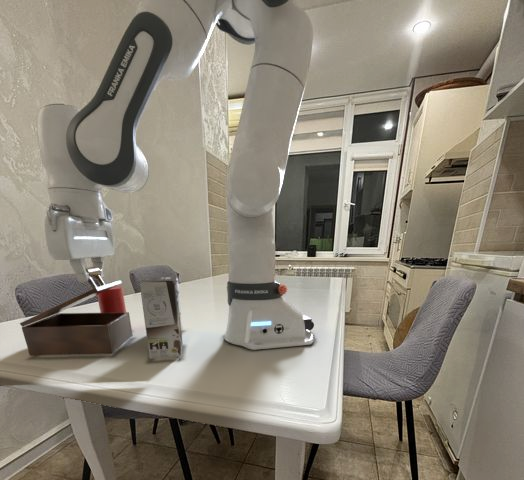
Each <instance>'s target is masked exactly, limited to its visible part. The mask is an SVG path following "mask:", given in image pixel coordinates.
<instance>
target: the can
mask: <svg viewBox="0 0 524 480" xmlns="http://www.w3.org/2000/svg"><path fill="white" fill-rule="evenodd" d="M96 296H97V301H98V307H99V311H100V312H99V313H113V312H127V307H126V301H125V296H124V291H123V286H119V285H117V286H115V287H113V288H111V289H109V290H106V291H104V292H102V293H100V294H98V295H96Z"/></svg>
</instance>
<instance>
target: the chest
mask: <svg viewBox="0 0 524 480" xmlns="http://www.w3.org/2000/svg"><path fill="white" fill-rule="evenodd" d="M21 331H22V334H23V337H24V340H25V341H24V342H25V344H26V348H27V351H28V354H29V356H68V355H69V356H70V355H71V356H73V355H107V354H108V355H109V354H114V353H115V352H116V351H117V350H118V349H119V348H121V347H122V346H123V345H124V344H126V342H128V340H130V339H131V338H132V337H133V329H132V324H131V317H130V312H128V311H126V312H113V313H101V312H60V313H57V314H54V315H52V316H49V317H47V318H44V319H42V320H39V321H36V322H34V323H31V324H29V325H26V326H23V327H22V326H21Z"/></svg>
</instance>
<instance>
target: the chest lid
mask: <svg viewBox="0 0 524 480" xmlns="http://www.w3.org/2000/svg"><path fill="white" fill-rule="evenodd" d="M85 269H86V272H87V273H89V278H90V281H89V282H88V284H89V285H90V287H91V288H92V289H90V290H87V291H86V292H85V291H84V292H83V293H81V294H79V295H77V296H74V297H72V298H70V299H68V300H66V301H63V302H62V303H60V304H57V305H56V306H53V307H51V308H50V309H47V310H45V311H43V312H41V313H39V314H37V315H34V316H32V317H30V318H28V319H26V320H24V321H22V322H20V323H19V325H20V326H21V328H22V327H24V326H27V325H29V324H32V323H35V322H37V321H40V320H42V319H45V318H47V317H50V316H53V315H55V314H58V313H63V311H66V310H68V309H71V308H72V307H74V306H77V305H79V304H81V303H83V302H85V301H87V300H89V299H92V298H94V297H96V296H97V295H98V294H100V293H102V292H104V291H106V290H109V289H111V288H113V287H115V286H119V285H121V284H123V282H122V280H121V279H119V280H115V281H113V282H109V283H105V281H104V280H103V278H101V277H100V273H101V271H100V269H99V268H98V267H93V266H90V267H85ZM95 276H96V278H97V279H96V281H98V283H99V284H100V285H99V286H97V284H96V282H95V281H94V279H93V277H95Z"/></svg>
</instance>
